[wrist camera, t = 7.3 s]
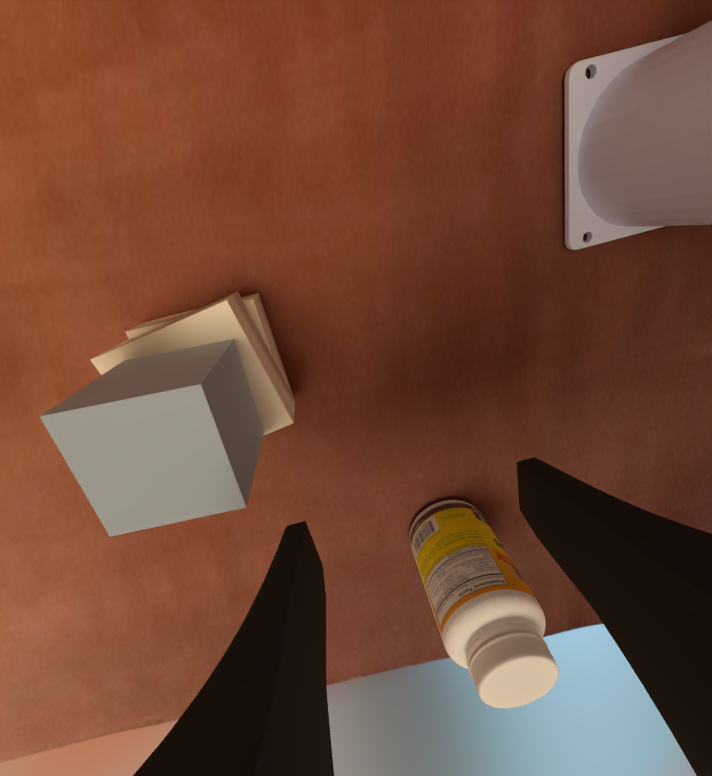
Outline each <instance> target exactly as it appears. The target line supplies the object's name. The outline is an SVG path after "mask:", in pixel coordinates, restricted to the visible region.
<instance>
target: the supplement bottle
mask: <svg viewBox="0 0 712 776" xmlns="http://www.w3.org/2000/svg"><path fill="white" fill-rule="evenodd" d="M409 539H410V545H411V548H412V551H413V554H414V557H415V560H416V563H417V566H418V569H419V572H420V575H421V578H422V581H423V584H424V587H425V590H426V592H427V595H428V598H429V602H430V605H431V608H432V610H433V613H434V616H435V619H436V622H437V625H438V628H439V631H440V634H441V637H442V640H443V643H444V646H445V649H446V651H447V653H448V654H449V656H450V657H451V659H453V660H454V662H456V663H457V664H458V665H460V666H462V667H464V668H466V669H469V672H470V675H471V677H472V678H473V681H474V683H475V686H476V689H477V691H478V694H479V696H480V698H481V699H482V701H483V702H485V703H486V704H488V705H490V706H492V707H496V708H513V707H518V706H522V705H525V704H527V703H530V702H532V701H534V700H536V699H538V698H540V697H541V696H543V695H544V694H545V693H547V692H548V691H549V690H550V689H551V688H552V686H553V685H554V684H555V682H556V680H557V678H558V672H559V671H558V667H557V664H556V663H555V661H554V659H553V657H552V655H551V653H550V651H549V649H548V647H547V644H546V643H545V641H544V640H543V639H542V638H543V635H544V632H545V616H544V613H543V611H542V609H541V607H540V605H539V604H538V602H537V600H536V599H535V597H534V596H533V594H532V592H531V591H530V589H529V588H528V586H527V585H526V583H525V581H524V580H523V578H522V577H521V575H520V574H519V572H518V570H517V569H516V567H515V566H514V564H513V563H512V561H511V559H510V558H509V556H508V555H507V553H506V551H505V550H504V548H503V547H502V545H501V544H500V542H499V541H498V539H497V537H496V536H495V534H494V533H493V531H492V530H491V528H490V526H489V525H488V523H487V522H486V520H485V519H484V517H483V516H482V514H481V513H480V512H479V510H478V509H477V508H475V507H474V506H473V505H471V504H469V503H467V502H464V501H460V500H445V501H441V502H437V503H435V504H432V505H431V506H429V507H427V508H426V509H424V510H423V511H422V512H421V513H420V514H419V515H418V516H417V517H416V519H415V520H414V522H413V524H412V526H411V529H410V536H409Z"/></svg>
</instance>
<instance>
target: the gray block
mask: <svg viewBox="0 0 712 776" xmlns="http://www.w3.org/2000/svg"><path fill="white" fill-rule="evenodd" d="M40 418H41V419H42V421H43V423H44V425H45V426H46V428H47V430H48V431H49V433H50V435H51V437H52V438H53V440H54V442H55V443H56V445H57V447H58V449H59V450H60V452H61V454H62V455H63V457H64V459H65V461H66V462H67V464H68V466H69V467H70V469H71V471H72V472H73V474H74V476H75V478H76V479H77V481H78V483H79V484H80V486H81V488H82V490H83V491H84V493H85V495H86V496H87V498H88V500H89V502H90V503H91V505H92V507H93V508H94V510H95V512H96V514H97V515H98V517H99V519H100V520H101V522H102V524H103V526H104V527H105V529H106V531H107V532H108V534H109V536H115V535H120V534H124V533H129V532H134V531H138V530H143V529H148V528H152V527H157V526H162V525H166V524H171V523H176V522H180V521H185V520H190V519H194V518H199V517H204V516H208V515H213V514H218V513H222V512H227V511H232V510H236V509H241V508H245V507H247V502H248V498H249V494H250V490H251V485H252V481H253V477H254V473H255V468H256V464H257V460H258V456H259V452H260V447H261V443H262V439H263V435H264V432H263V429H262V425H261V422H260V419H259V416H258V413H257V409H256V406H255V403H254V400H253V397H252V393H251V390H250V387H249V384H248V381H247V378H246V374H245V371H244V368H243V365H242V362H241V358H240V355H239V352H238V349H237V346H236V342H235V339H231V340H226V341H221V342H216V343H211V344H206V345H201V346H195V347H190V348H185V349H180V350H175V351H170V352H165V353H160V354H155V355H150V356H145V357H139V358H134V359H129V360H124V361H122V362H121V363H119V364H118V365H116V366H115V367H113V368H112V369H110V370H109V371H107V372H106V373H104V374H103V375H101V376H100V377H98V378H97V379H95V380H94V381H92V382H91V383H89V384H88V385H86V386H85V387H83V388H82V389H80V390H79V391H77V392H76V393H74V394H73V395H71V396H70V397H68V398H67V399H65V400H64V401H62V402H61V403H59V404H58V405H56V406H55V407H53V408H52V409H50V410H49V411H47V412H46V413H44V414H43V415H41V416H40Z"/></svg>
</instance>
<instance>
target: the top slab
mask: <svg viewBox="0 0 712 776" xmlns="http://www.w3.org/2000/svg"><path fill="white" fill-rule="evenodd" d="M231 339H235V342H236V346H237V349H238V352H239V355H240V358H241V362H242V365H243V368H244V371H245V374H246V378H247V381H248V384H249V387H250V390H251V393H252V397H253V400H254V403H255V406H256V409H257V413H258V416H259V419H260V422H261V425H262V429H263V432H264V435H266V434H268V433H271V432H273V431H276V430H278V429H280V428H283V427H285V426H288V425H290V424H292V423H294V411H295V399H294V397H293V395H292V393H291V391H290V389H289V388H288V386H287V384H286V382H285V380H284V378H283V376H282V374H281V372H280V370H279V369H278V367H277V365H276V363H275V361H274V359H273V357H272V355H271V353H270V351H269V350H268V348H267V346H266V344H265V342H264V340H263V338H262V336H261V334H260V332H259V331H258V329H257V327H256V325H255V323H254V321H253V319H252V317H251V315H250V313H249V312H248V310H247V308H246V306H245V304H244V302H243V300H242V298H241V296H240V294H239V293H238V292H235V293H233V294H231V295H229V296H226V297H224V298H222V299H219V300H217V301H215V302H213V303H210V304H208V305H206V306H203V307H201V308H199V309H197V310H194V311H192V312H190V313H187V314H185V315H183V316H181V317H178V318H176V319H174V320H171V321H169V322H167V323H164V324H162V325H160V326H158V327H155V328H153V329H151V330H148V331H146V332H144V333H142V334H139V335H137V336H135V337H132V338H130V339H128V340H126V341H123V342H121V343H119V344H117V345H115V346H114V347H112V348H110V349H108V350H107V351H105V352H103V353H101V354H99V355H98V356H96V357H94V358H92V359H91V362H92V363H93V364H94V366H95V367H96V368H97V370H98V371H99V372H100V374H101V375H103V374H104V373H106V372H107V371H109V370H110V369H112V368H113V367H115V366H116V365H118V364H119V363H121V362H122V361H124V360H129V359H134V358H139V357H145V356H150V355H155V354H160V353H165V352H170V351H175V350H180V349H185V348H190V347H195V346H201V345H206V344H211V343H216V342H221V341H226V340H231ZM264 435H263V436H264Z"/></svg>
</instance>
